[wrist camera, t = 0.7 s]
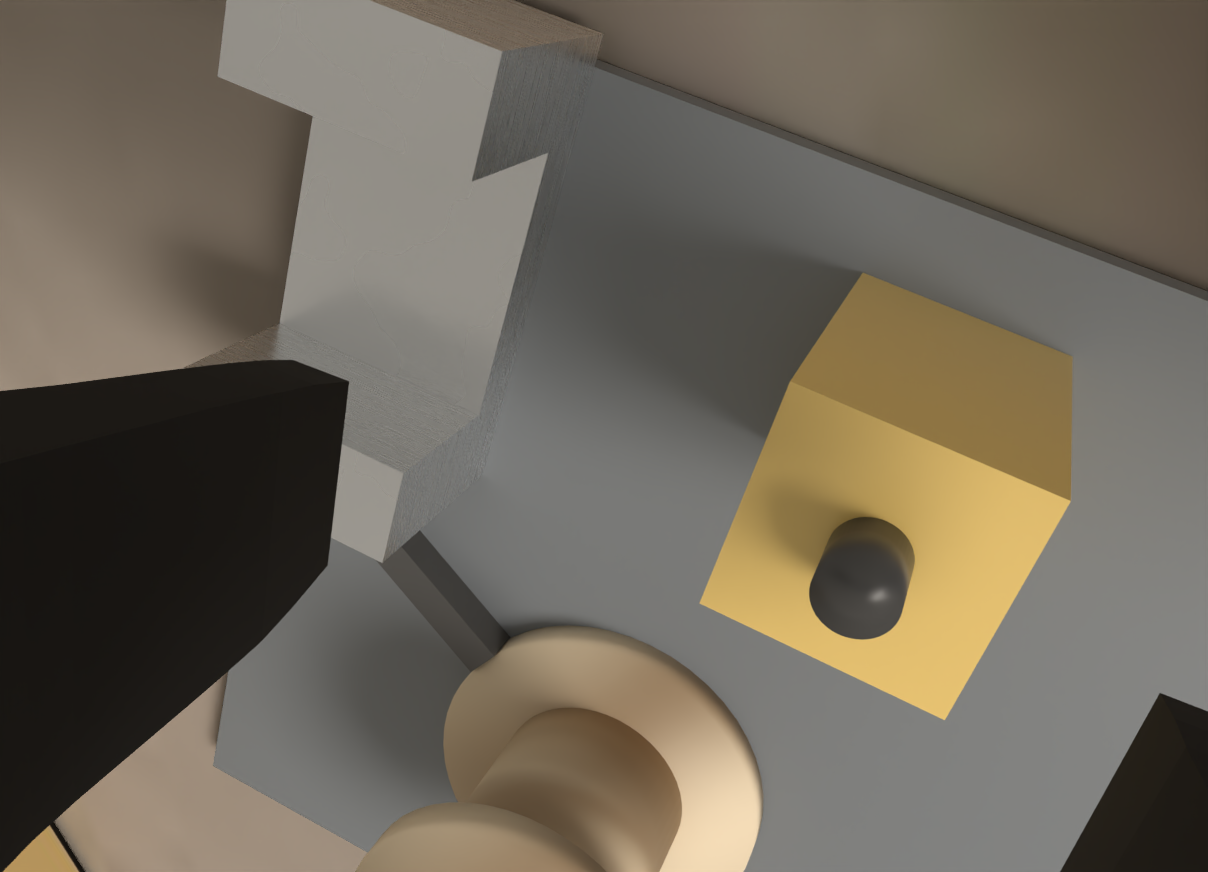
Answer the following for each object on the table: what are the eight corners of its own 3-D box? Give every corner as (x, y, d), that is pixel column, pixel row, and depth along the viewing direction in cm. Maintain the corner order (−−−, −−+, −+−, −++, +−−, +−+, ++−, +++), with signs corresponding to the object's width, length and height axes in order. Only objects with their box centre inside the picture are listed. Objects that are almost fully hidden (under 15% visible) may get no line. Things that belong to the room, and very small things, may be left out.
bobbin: (814, 725, 20) (743, 934, 16) (700, 951, 23) (614, 1178, 19) (498, 570, 21) (353, 725, 17) (429, 804, 24) (290, 986, 20)
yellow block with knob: (1072, 356, 16) (1070, 544, 11) (976, 535, 18) (936, 771, 13) (863, 272, 17) (769, 411, 12) (787, 451, 18) (675, 645, 13)
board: (1519, 409, 15) (1555, 446, 14) (951, 1150, 24) (944, 1209, 22) (363, -30, 19) (317, -29, 18) (229, 750, 27) (192, 784, 26)
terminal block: (603, 34, 17) (501, 52, 14) (483, 474, 21) (382, 563, 18) (375, -52, 18) (233, -52, 15) (298, 387, 22) (172, 458, 19)
